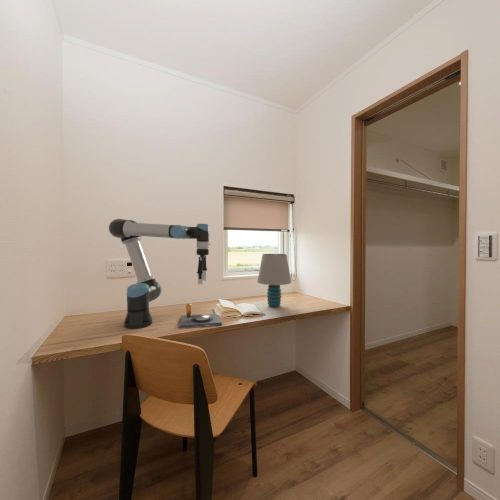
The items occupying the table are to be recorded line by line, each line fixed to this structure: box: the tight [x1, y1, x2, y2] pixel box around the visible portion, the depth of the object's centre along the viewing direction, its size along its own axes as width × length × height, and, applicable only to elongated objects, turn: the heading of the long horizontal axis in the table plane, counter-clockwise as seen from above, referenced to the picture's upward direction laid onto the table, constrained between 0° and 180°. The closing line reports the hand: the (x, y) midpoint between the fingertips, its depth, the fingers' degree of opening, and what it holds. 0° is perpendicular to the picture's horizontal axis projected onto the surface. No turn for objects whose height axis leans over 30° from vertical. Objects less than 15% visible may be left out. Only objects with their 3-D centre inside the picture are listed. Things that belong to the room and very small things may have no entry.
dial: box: [185, 303, 211, 321], centre depth 152 cm, size 14×10×10 cm
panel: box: [178, 312, 223, 329], centre depth 153 cm, size 24×19×2 cm
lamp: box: [257, 253, 292, 308], centre depth 188 cm, size 25×25×39 cm
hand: (202, 282), depth 157 cm, fingers open, 13 cm apart
